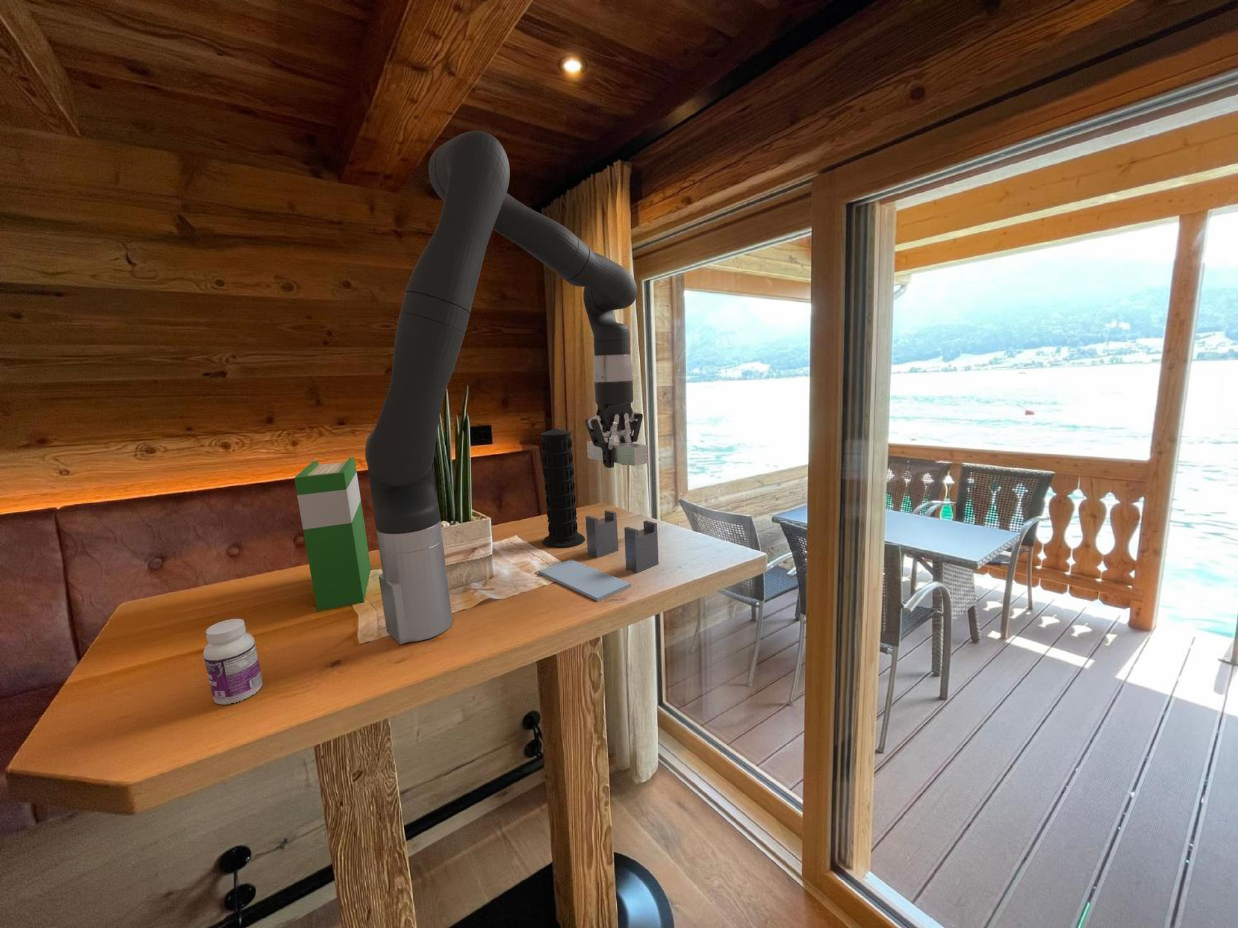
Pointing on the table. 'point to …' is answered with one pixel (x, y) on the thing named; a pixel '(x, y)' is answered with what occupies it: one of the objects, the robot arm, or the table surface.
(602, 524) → the post left
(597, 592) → the mat
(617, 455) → the rail
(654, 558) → the post right
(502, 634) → the table surface
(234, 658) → the pill bottle
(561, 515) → the handle grip
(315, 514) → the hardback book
